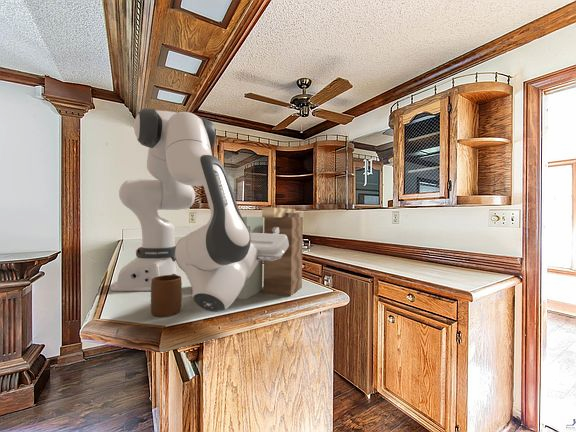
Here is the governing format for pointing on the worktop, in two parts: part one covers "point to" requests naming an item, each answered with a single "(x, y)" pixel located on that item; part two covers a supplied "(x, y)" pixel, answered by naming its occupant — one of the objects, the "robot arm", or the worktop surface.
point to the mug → (166, 295)
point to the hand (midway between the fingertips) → (262, 228)
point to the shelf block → (255, 280)
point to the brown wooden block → (285, 256)
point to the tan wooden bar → (276, 212)
